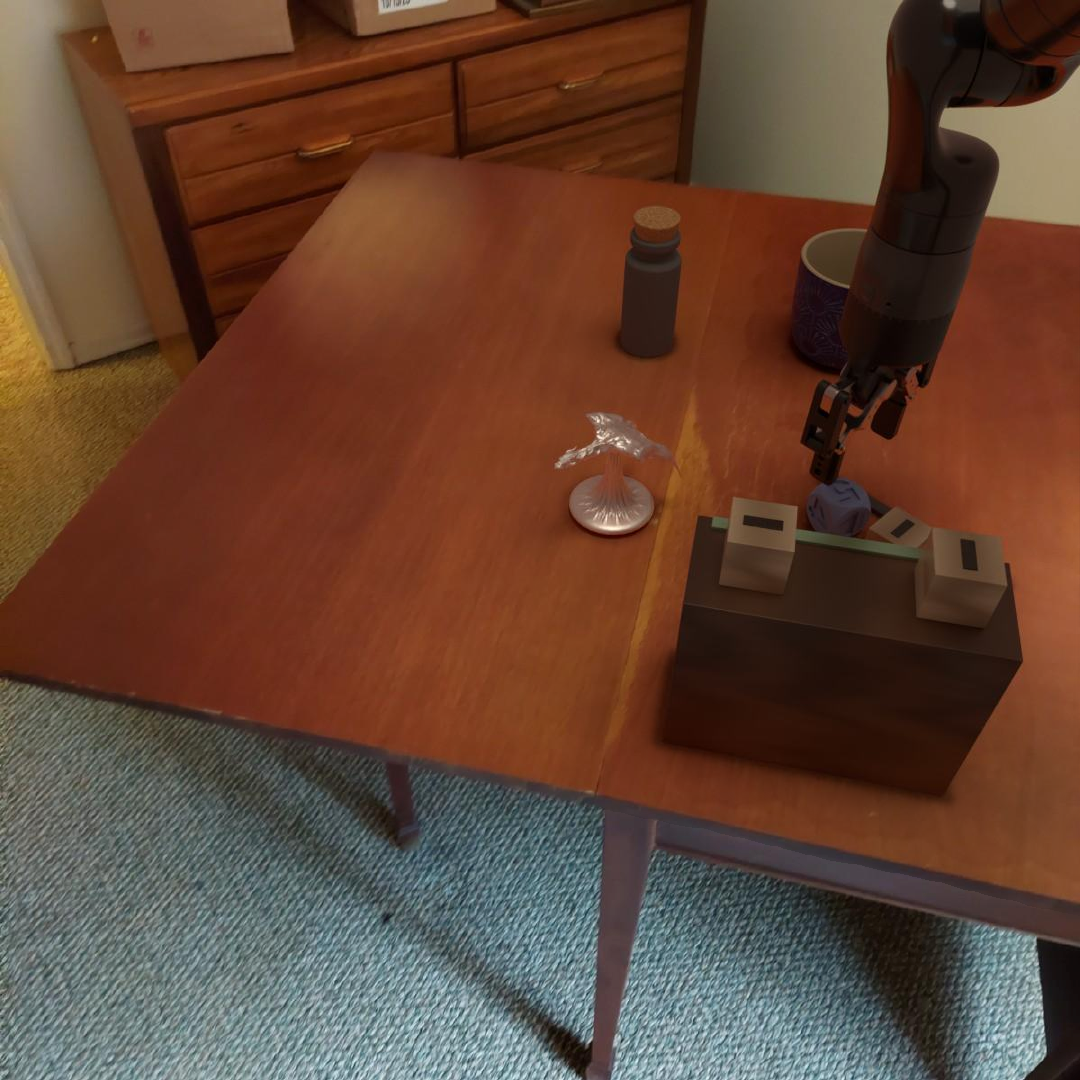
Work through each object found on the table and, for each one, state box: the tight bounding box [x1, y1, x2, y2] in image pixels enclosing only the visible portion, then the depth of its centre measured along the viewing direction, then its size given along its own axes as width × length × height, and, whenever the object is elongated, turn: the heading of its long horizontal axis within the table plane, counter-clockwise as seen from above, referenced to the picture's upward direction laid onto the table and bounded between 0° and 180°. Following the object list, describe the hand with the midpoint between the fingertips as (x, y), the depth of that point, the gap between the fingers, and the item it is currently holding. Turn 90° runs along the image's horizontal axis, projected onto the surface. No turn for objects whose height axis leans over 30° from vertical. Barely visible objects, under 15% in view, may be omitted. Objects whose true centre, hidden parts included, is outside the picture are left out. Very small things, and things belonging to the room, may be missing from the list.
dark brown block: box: [661, 496, 1024, 797], centre depth 64 cm, size 20×8×20 cm, turn 77°
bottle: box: [619, 205, 683, 359], centre depth 100 cm, size 6×6×15 cm
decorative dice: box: [806, 477, 872, 538], centre depth 85 cm, size 4×4×4 cm
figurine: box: [553, 411, 683, 536], centre depth 84 cm, size 8×12×10 cm, turn 126°
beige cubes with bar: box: [838, 476, 933, 548], centre depth 83 cm, size 18×7×4 cm, turn 42°
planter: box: [790, 227, 868, 370], centre depth 101 cm, size 12×12×11 cm
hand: (853, 455), depth 80 cm, fingers open, 8 cm apart
